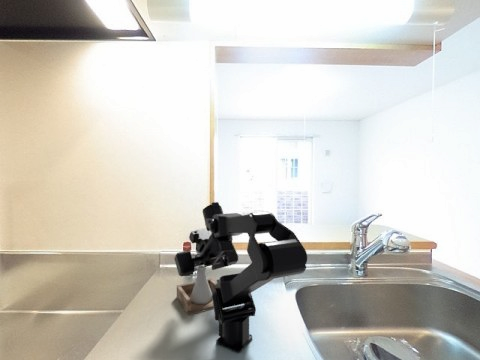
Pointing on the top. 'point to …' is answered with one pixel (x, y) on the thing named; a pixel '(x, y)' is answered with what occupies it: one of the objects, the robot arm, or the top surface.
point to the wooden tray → (185, 294)
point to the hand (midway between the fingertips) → (199, 271)
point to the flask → (201, 287)
